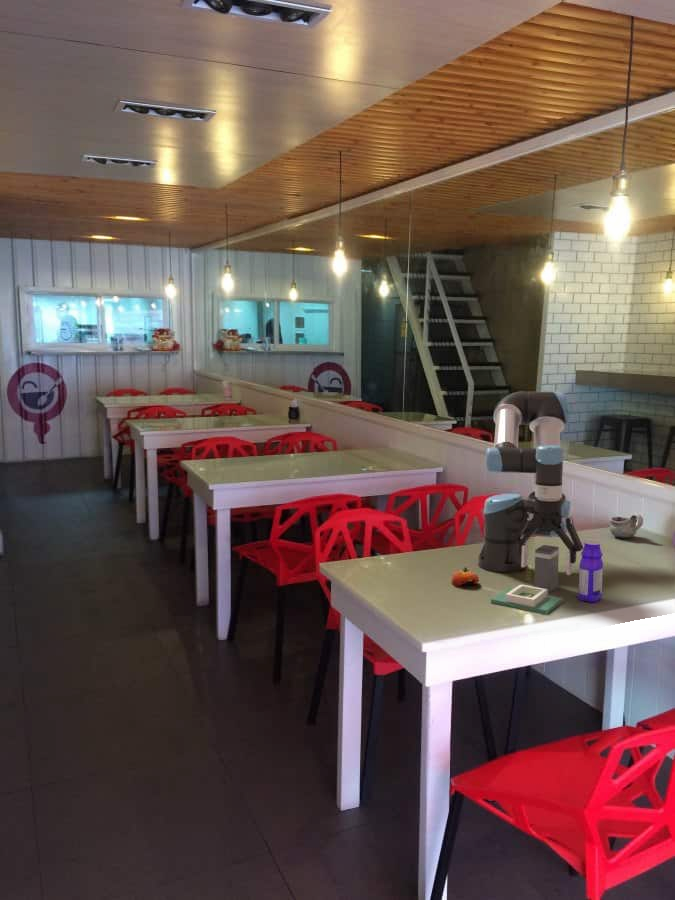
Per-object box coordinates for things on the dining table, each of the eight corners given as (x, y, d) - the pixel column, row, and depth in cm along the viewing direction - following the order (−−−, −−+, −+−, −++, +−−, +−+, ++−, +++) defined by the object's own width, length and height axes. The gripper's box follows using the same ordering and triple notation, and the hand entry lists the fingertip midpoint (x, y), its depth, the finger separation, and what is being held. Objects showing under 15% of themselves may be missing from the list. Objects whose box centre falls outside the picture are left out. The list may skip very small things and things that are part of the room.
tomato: (486, 578, 219) (475, 564, 216) (478, 598, 216) (467, 583, 212) (463, 577, 225) (452, 563, 221) (456, 596, 221) (445, 582, 217)
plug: (533, 589, 213) (534, 550, 211) (543, 582, 219) (544, 544, 218) (549, 592, 210) (550, 552, 209) (558, 585, 217) (559, 546, 215)
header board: (490, 602, 202) (491, 592, 202) (508, 591, 212) (508, 581, 212) (546, 614, 193) (547, 603, 193) (562, 601, 203) (562, 591, 202)
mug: (617, 533, 278) (618, 507, 277) (649, 539, 269) (650, 512, 268) (604, 537, 272) (605, 511, 271) (636, 543, 263) (637, 516, 261)
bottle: (584, 593, 209) (586, 534, 207) (604, 597, 205) (607, 537, 203) (575, 600, 203) (577, 539, 201) (595, 604, 200) (597, 543, 198)
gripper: (502, 496, 215) (501, 566, 218) (587, 505, 201) (585, 580, 203) (512, 492, 221) (511, 560, 224) (595, 501, 207) (593, 573, 209)
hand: (546, 570), depth 213 cm, fingers open, 13 cm apart
